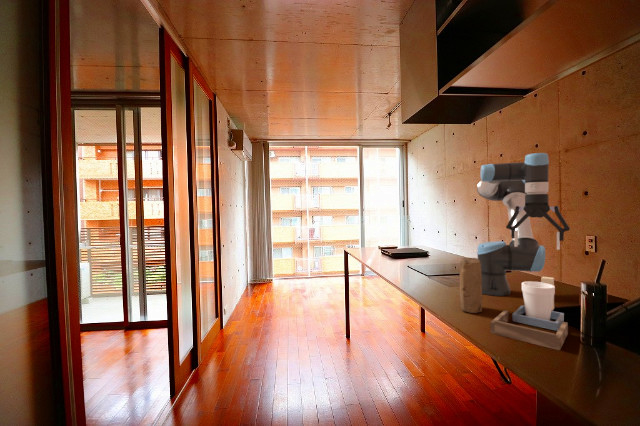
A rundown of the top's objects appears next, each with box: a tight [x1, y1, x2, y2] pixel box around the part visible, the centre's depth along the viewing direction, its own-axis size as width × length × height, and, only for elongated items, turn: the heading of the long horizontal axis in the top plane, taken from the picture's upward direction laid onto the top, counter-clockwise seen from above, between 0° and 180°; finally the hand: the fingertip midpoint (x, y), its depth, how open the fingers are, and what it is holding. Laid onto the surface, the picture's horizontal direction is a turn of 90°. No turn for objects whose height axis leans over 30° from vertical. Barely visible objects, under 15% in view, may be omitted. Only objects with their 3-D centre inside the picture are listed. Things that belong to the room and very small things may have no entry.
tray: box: [511, 276, 565, 332], centre depth 112 cm, size 25×13×12 cm, turn 135°
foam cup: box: [521, 280, 556, 321], centre depth 107 cm, size 10×9×13 cm
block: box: [459, 257, 483, 314], centre depth 121 cm, size 11×8×20 cm
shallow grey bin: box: [489, 309, 569, 351], centre depth 97 cm, size 16×18×4 cm
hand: (536, 247), depth 121 cm, fingers open, 13 cm apart
